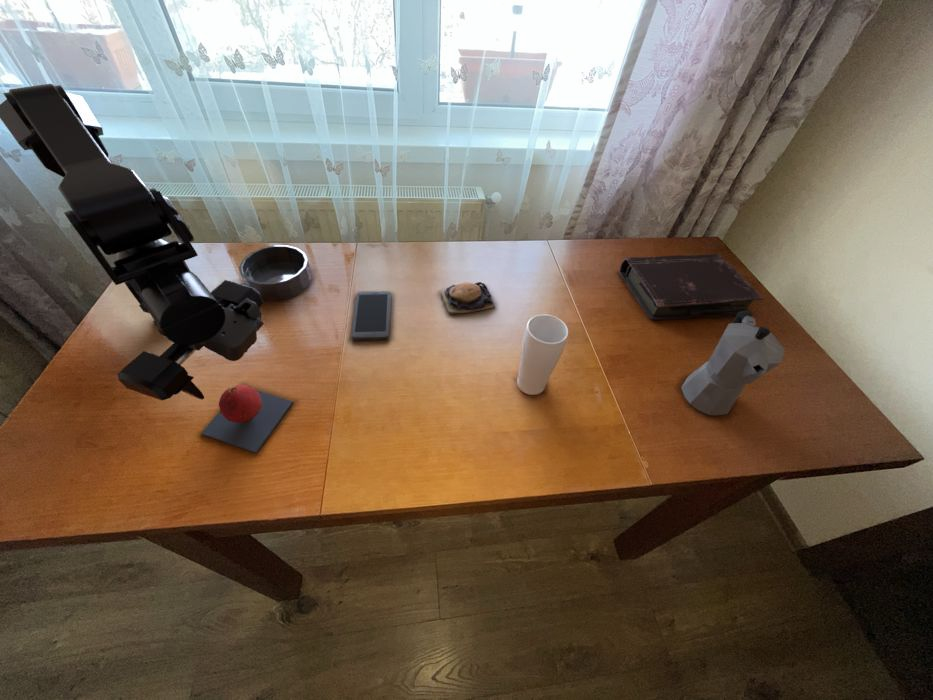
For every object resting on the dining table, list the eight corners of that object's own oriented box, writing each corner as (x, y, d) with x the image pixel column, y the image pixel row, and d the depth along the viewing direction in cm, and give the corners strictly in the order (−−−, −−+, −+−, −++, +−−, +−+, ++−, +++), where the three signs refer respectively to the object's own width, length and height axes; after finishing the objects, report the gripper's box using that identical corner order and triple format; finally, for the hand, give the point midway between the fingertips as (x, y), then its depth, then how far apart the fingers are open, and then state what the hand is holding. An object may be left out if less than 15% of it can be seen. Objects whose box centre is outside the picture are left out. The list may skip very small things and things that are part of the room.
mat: (201, 434, 64) (200, 433, 63) (243, 386, 70) (242, 385, 70) (256, 453, 62) (255, 452, 62) (293, 402, 69) (292, 401, 68)
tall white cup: (551, 376, 76) (572, 320, 65) (544, 404, 72) (565, 349, 60) (517, 366, 77) (531, 309, 66) (508, 393, 73) (521, 336, 61)
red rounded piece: (255, 435, 64) (237, 407, 58) (222, 427, 64) (200, 399, 58) (274, 405, 68) (258, 376, 62) (242, 398, 68) (224, 369, 62)
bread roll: (449, 317, 85) (449, 304, 82) (439, 291, 90) (439, 278, 87) (496, 309, 87) (498, 296, 84) (484, 284, 92) (485, 272, 90)
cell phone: (351, 340, 78) (350, 338, 78) (357, 293, 88) (356, 291, 87) (389, 339, 79) (389, 337, 79) (391, 293, 88) (390, 290, 88)
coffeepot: (736, 432, 70) (809, 369, 57) (681, 417, 72) (739, 351, 58) (726, 368, 80) (786, 301, 67) (678, 355, 82) (726, 287, 68)
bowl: (233, 291, 86) (224, 274, 82) (271, 256, 94) (265, 239, 91) (289, 307, 84) (283, 290, 80) (323, 269, 92) (319, 253, 89)
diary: (617, 271, 99) (624, 254, 95) (707, 266, 103) (718, 250, 99) (650, 324, 87) (660, 307, 83) (751, 317, 91) (765, 300, 87)
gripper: (166, 370, 40) (227, 444, 51) (279, 263, 52) (308, 343, 63) (76, 340, 41) (155, 419, 53) (206, 243, 53) (246, 325, 65)
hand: (223, 373), depth 59 cm, fingers open, 9 cm apart
